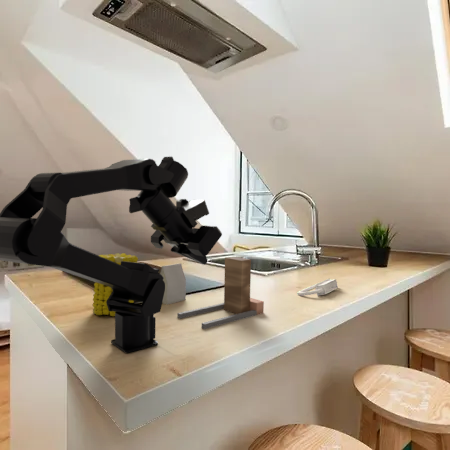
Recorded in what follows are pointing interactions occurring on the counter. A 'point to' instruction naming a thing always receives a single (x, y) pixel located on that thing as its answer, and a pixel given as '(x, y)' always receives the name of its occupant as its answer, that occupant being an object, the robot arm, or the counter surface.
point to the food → (105, 291)
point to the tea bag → (173, 283)
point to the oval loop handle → (320, 288)
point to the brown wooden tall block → (237, 284)
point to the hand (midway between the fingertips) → (205, 262)
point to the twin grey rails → (255, 309)
